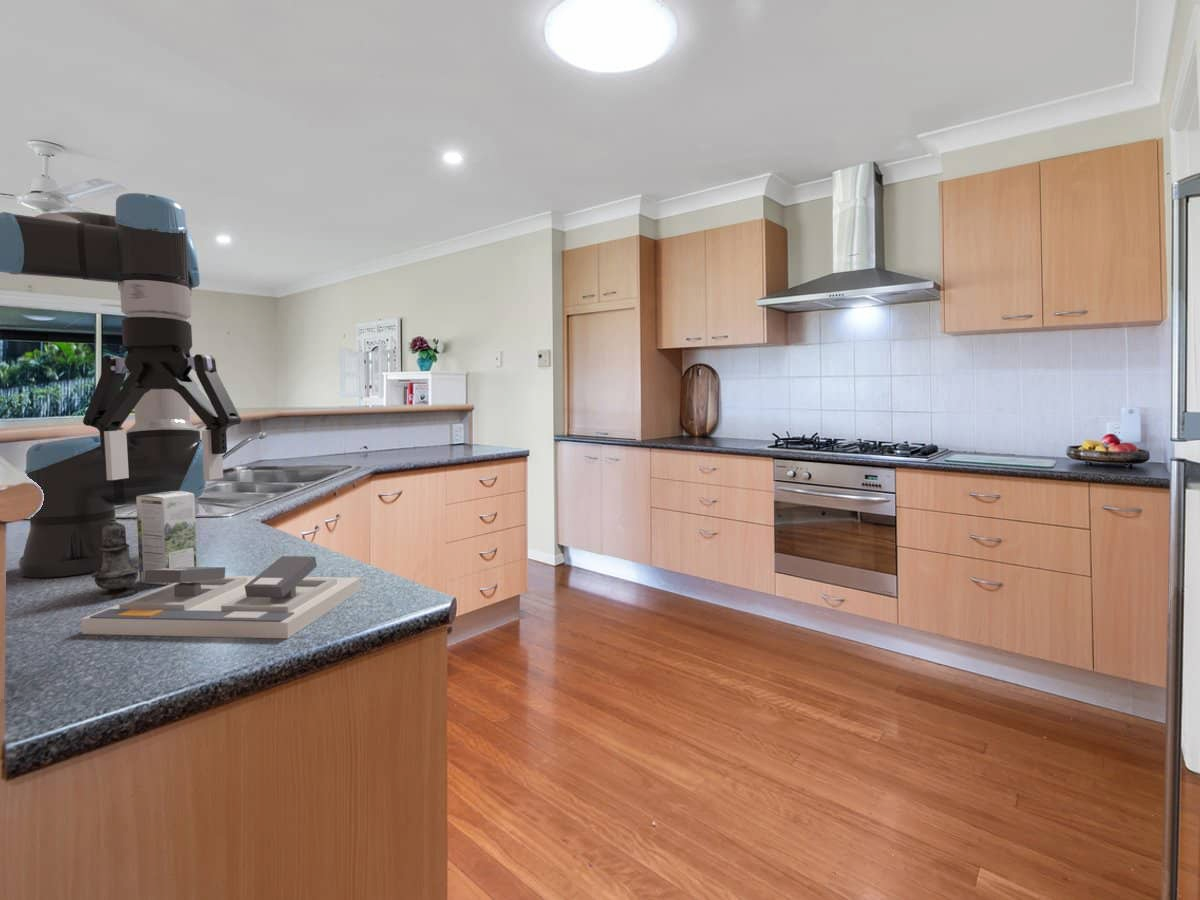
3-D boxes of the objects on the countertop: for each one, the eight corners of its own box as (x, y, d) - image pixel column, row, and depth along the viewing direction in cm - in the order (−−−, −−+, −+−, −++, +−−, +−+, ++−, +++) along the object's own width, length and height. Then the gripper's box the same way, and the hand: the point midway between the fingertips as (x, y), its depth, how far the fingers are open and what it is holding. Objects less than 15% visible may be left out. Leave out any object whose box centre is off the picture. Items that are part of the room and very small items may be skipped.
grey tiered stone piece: (114, 601, 91) (109, 521, 90) (82, 599, 93) (77, 519, 92) (151, 589, 97) (146, 514, 96) (120, 587, 98) (115, 513, 97)
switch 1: (192, 577, 92) (193, 566, 92) (224, 578, 92) (225, 566, 92) (144, 582, 83) (145, 569, 83) (179, 582, 83) (181, 569, 83)
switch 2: (283, 566, 91) (282, 555, 91) (316, 566, 91) (315, 555, 90) (246, 596, 83) (244, 585, 82) (282, 597, 82) (280, 586, 82)
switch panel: (195, 587, 98) (194, 565, 98) (360, 590, 96) (360, 567, 96) (82, 633, 78) (80, 606, 78) (288, 638, 76) (286, 610, 76)
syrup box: (171, 574, 106) (167, 490, 105) (199, 576, 105) (194, 491, 104) (139, 583, 101) (134, 495, 100) (167, 586, 99) (162, 496, 98)
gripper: (41, 315, 79) (52, 482, 80) (229, 312, 77) (237, 482, 79) (92, 324, 86) (101, 476, 88) (264, 321, 85) (271, 475, 86)
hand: (165, 479), depth 83 cm, fingers open, 13 cm apart
